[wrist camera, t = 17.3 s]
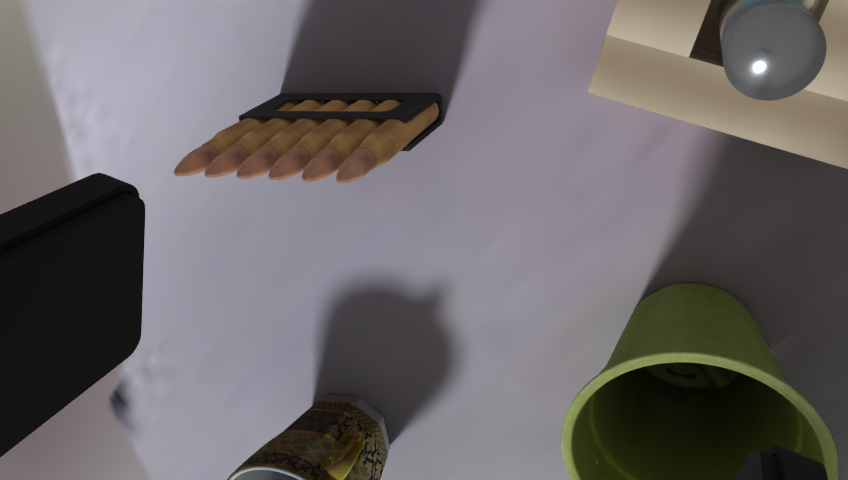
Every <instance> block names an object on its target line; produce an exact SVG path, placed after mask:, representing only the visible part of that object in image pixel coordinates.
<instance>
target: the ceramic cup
mask: <svg viewBox="0 0 848 480" xmlns="http://www.w3.org/2000/svg"><path fill="white" fill-rule="evenodd" d="M389 448H390V446H389V439H388V435H387V431H386V427H385V422H384V418H383V416H382V415H381V414H380V413H378V412H377V411H376V410H375V409H373V408H372V407H371V406H370V405H369V404H367V403H366V402H365V401H364V400H362V399H361V398H360V397H358V396H347V395H334V394H328V395H325V396H323V397H322V398H321V399H320V400H319V401H317V402H316V403H315V404H314V405H313V406H312V407H311V408H310V409H309V410H307V411H306V412H305V413H304V414H303V415H301V416H300V417H299V418H298V419H297V420H296V421H295V422H293V423H292V424H291V425H290V426H289V427H288V428H287V429H286V430H284V431H283V432H282V433H280V434H279V435H278V436H276V437H275V438H273V439H272V440H271V441H269V442H268V443H267V444H265V445H264V446H263V447H261V448H260V449H259V450H258V451H257V452H255V453H254V454H253V455H252V456H251V457H250V458H248V459H247V460H246V461H245V462H244V463H243V464H242V465H241V466H240V467H239V468H238V469H237V470H236V471H234V472H233V473H232V474H231V475H230V477H229V478H228V479H227V480H380V479H381V475H382V472H383V468H384V465H385V462H386V459H387V455H388V451H389Z"/></svg>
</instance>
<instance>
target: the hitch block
mask: <svg viewBox="0 0 848 480" xmlns="http://www.w3.org/2000/svg"><path fill="white" fill-rule="evenodd" d="M720 1H721V0H617V3H616V6H615V9H614V12H613V15H612V18H611V22H610V25H609V28H608V31H607V34H606V37H605V40H604V43H603V46H602V49H601V52H600V55H599V59H598V62H597V65H596V68H595V71H594V74H593V77H592V80H591V83H590V86H589V89H588V93H591V94H594V95H598V96H601V97H605V98H608V99H611V100H615V101H618V102H622V103H625V104H628V105H632V106H635V107H639V108H642V109H645V110H649V111H652V112H655V113H659V114H662V115H666V116H669V117H672V118H676V119H679V120H683V121H686V122H689V123H693V124H696V125H700V126H703V127H706V128H710V129H713V130H717V131H720V132H723V133H727V134H730V135H733V136H737V137H740V138H744V139H747V140H750V141H754V142H757V143H761V144H764V145H767V146H771V147H774V148H778V149H781V150H784V151H788V152H791V153H795V154H798V155H801V156H805V157H808V158H811V159H815V160H818V161H822V162H825V163H828V164H832V165H835V166H839V167H842V168H845V169H848V0H800V2H801V3H802V4H803V5H804V6H805V8H806V9H807V10H808V11H809V12H810V14H811V15H812V16H813V17H814V18H815V20H816V21H817V22H818V23H819V25H820V26H821V28H822V30H823V32H824V35H825V38H826V45H827V50H826V57H825V61H824V64H823V66H822V68H821V70H820V72H819V74H818V75H817V76H816V78H815V79H814V80H813V81H812V82H811V83H810V84H809V85H808V86H807V87H806V88H804V89H803V90H801V91H800V92H798V93H796V94H794V95H792V96H790V97H787V98H784V99H780V100H773V101H764V100H757V99H753V98H750V97H748V96H746V95H744V94H742V93H740V92H739V91H738V90H737V89H735V88H734V87H733V85H732V84H731V83H730V81H729V80H728V78H727V76H726V73H725V70H724V66H723V57H722V49H721V40H720V32H719V24H718V8H719V4H720Z"/></svg>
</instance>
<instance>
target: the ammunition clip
mask: <svg viewBox="0 0 848 480" xmlns="http://www.w3.org/2000/svg"><path fill="white" fill-rule="evenodd" d="M239 121H240V122H238V123H236V124H234V125H232V126H230V127H228V128H226V129H224V130H222V131H220V132H219V133H217V134H216V135H215V136H214V137H213V138H212V139H211V140H209V141H208V142H206V143H205V144H203V145H202V146H201V147H199V148H197V149H195V150H194V151H192V152H191V153H189V154H188V155H187V156H186V157H185V158H183V159H182V161H181V162H180V163H179V164H178V165H177V167H176V168H175V171H174V174H175V175H176V176H189V175H194V174H197V173H200V172H203V171H205V170H206V171H205V176H206V177H210V178H214V177H221V176H225V175H228V174H230V173H233V172H235V171H237V170H238V171H237V174H236V176H237V178H239V179H249V178H253V177H257V176H259V175H262V174H264V173H266V172H268V171H270V172H269V176H268V177H269V179H270V180H282V179H286V178H289V177H291V176H294V175H296V174H298V173H300V172H301V171H303V170H304V171H303V174H302V180H303V181H306V182H312V181H317V180H320V179H322V178H325V177H327V176H329V175H331V174H332V173H334V172H335V171H336V170H338V169H339V170H338V172H337V176H336V181H337V182H338V183H348V182H352V181H354V180H357V179H359V178H361V177H363V176H364V175H366V174H367V173H368V172H369V171H371V170H373V169H374V168H376V167H377V166H379V165H382V164H385V163H386V162H388V161H389V160H390V159H391V158H392V157H393V156H395V155H396V154H397V153H398V152H399V151H410V150H411V149H412V148H413V147H414V146H416V145H417V144H418V143H419V142H421V141H422V140H423V139H424V138H425V137H427V136H428V135H429V134H430V133H431V132H433V131H434V130H435V129H436V128H438V127H439V126H440V125H441V124H442V111H441V98H440V95H439V94H438V93H344V94H279V95H278V96H276V97H274V98H272V99H270V100H268V101H266V102H265V103H263V104H261V105H259V106H257V107H255V108H253V109H251V110H249V111H248V112H246V113H244V114H242V115H240V116H239Z"/></svg>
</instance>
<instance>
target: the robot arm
mask: <svg viewBox="0 0 848 480" xmlns="http://www.w3.org/2000/svg"><path fill="white" fill-rule="evenodd" d="M144 229H145V204H144V202H143V200H141V199H140V198H139V193H138V191H137V189H136V188H135V187H134V186H133V185H130V184H128V183H125V182H123V181H120V180H118V179H115V178H113V177H110V176H108V175H106V174H102V173H97V174H92V175H90V176H88V177H86V178H83V179H81V180H79V181H76V182H74V183H72V184H69V185H67V186H65V187H63V188H60V189H58V190H56V191H53V192H51V193H49V194H47V195H45V196H42V197H40V198H37V199H35V200H33V201H31V202H28V203H26V204H24V205H21V206H19V207H17V208H14V209H12V210H10V211H8V212H5V213H3V214H1V215H0V457H1V456H3V455H4V454H5V453H6V452H8V451H9V450H10V449H11V448H13V447H14V446H15V445H17V444H18V443H19V442H20V441H22V440H23V439H24V438H25V437H27V436H28V435H29V434H31V433H32V432H33V431H35V430H36V429H37V428H38V427H39V426H41V425H42V424H43V423H45V422H46V421H47V420H49V419H50V418H51V417H52V416H54V415H55V414H56V413H57V412H59V411H60V410H61V409H63V408H64V407H65V406H67V405H68V404H69V403H70V402H72V401H73V400H74V399H75V398H77V397H78V396H79V395H80V394H82V393H83V392H84V391H86V390H87V389H88V388H89V387H91V386H92V385H93V384H95V383H96V382H97V381H98V380H100V379H101V378H102V377H104V376H105V375H106V374H107V373H109V372H110V371H111V370H113V369H114V368H115V367H116V366H117V365H119V364H120V363H122V362H123V361H124V360H125V359H127V358H128V357H129V356H130V355H131V354H132V353H133V352H134V350H135V349H136V347H137V345H138V344H139V341H140V338H141V322H142V291H143V260H144ZM733 480H828V477H827V472H826V469H825V467H824V465H823V464H822V463H821V462H819V461H816V460H814V459H811V458H809V457H806V456H804V455H801V454H799V453H796V452H794V451H791V450H789V449H786V448H784V447H782V446H779V445H773V446H772V447H770V448H769V449H768V450H767V452H764V451H761V450H759V449H754V450H752V451H751V452H750V454H749V455H748V456H747V458H746V459H745V461H744V462H743V464H742V466H741V467H740V469H739V470H738V472H737V473H736V475H735V477H734V478H733Z"/></svg>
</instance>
